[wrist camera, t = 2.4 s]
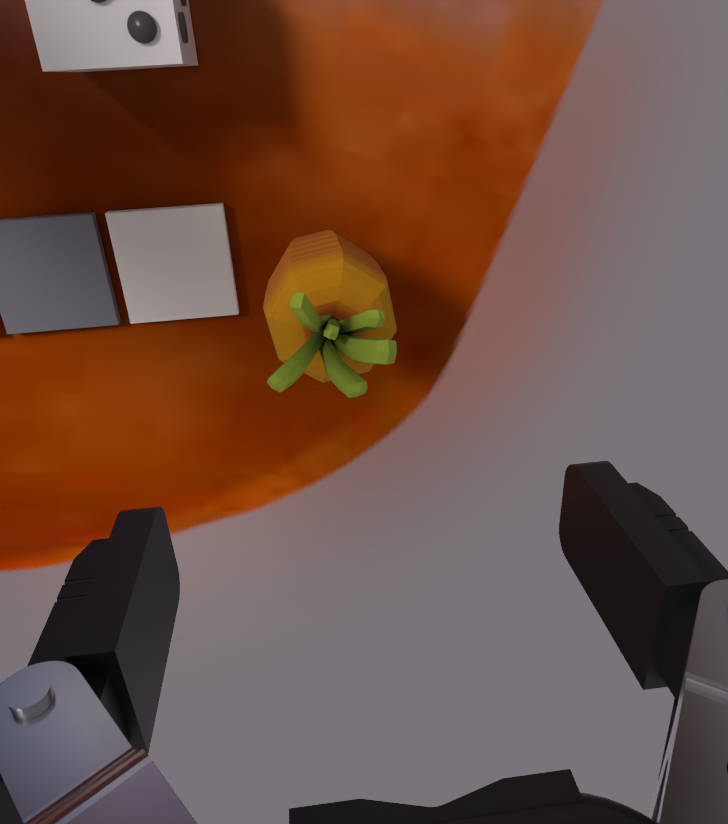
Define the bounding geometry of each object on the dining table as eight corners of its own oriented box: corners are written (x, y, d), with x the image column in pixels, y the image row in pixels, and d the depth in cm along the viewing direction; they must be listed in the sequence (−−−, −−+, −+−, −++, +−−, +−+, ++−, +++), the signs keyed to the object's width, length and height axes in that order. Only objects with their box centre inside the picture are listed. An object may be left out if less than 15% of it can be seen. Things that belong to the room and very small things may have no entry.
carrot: (262, 292, 33) (249, 437, 20) (274, 192, 31) (268, 280, 18) (357, 305, 34) (405, 452, 21) (375, 209, 32) (441, 305, 19)
